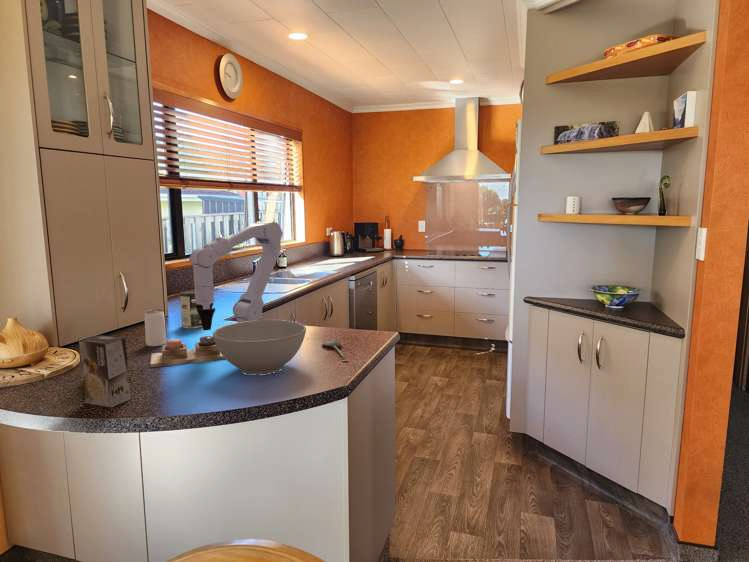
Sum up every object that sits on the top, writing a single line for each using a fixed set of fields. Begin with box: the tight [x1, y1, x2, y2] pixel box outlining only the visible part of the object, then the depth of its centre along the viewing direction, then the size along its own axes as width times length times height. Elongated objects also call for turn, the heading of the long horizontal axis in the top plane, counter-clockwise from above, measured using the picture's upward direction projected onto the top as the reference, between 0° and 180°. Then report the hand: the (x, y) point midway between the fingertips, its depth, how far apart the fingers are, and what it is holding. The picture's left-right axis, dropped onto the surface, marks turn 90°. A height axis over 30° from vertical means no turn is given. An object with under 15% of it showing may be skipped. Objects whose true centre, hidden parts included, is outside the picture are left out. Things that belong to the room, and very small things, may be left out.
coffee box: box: [78, 334, 131, 408], centre depth 129 cm, size 9×6×16 cm
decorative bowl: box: [212, 319, 307, 376], centre depth 153 cm, size 27×27×12 cm
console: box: [149, 341, 226, 368], centre depth 167 cm, size 24×12×4 cm, turn 111°
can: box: [143, 309, 167, 347], centre depth 182 cm, size 6×6×12 cm
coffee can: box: [178, 289, 203, 329], centre depth 210 cm, size 10×10×14 cm
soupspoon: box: [321, 339, 348, 361], centre depth 171 cm, size 22×3×7 cm
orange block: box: [166, 338, 182, 350], centre depth 164 cm, size 4×4×3 cm
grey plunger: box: [199, 335, 214, 346], centre depth 168 cm, size 4×4×3 cm
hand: (206, 327), depth 167 cm, fingers open, 7 cm apart
